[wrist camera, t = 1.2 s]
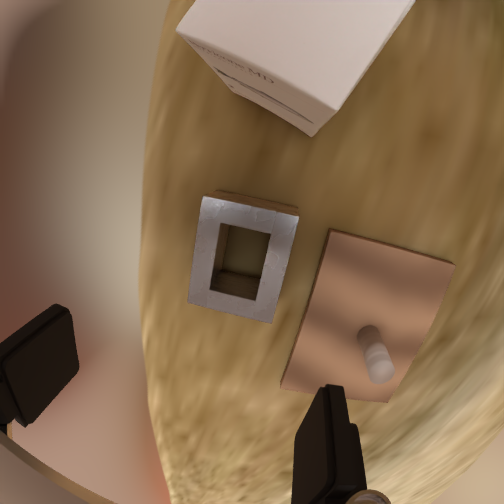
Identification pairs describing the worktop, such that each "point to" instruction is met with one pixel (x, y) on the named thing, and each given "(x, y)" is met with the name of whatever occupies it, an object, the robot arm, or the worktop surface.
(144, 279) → the worktop surface
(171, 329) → the worktop surface
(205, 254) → the link
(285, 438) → the worktop surface
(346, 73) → the supplement box
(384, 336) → the keeper
